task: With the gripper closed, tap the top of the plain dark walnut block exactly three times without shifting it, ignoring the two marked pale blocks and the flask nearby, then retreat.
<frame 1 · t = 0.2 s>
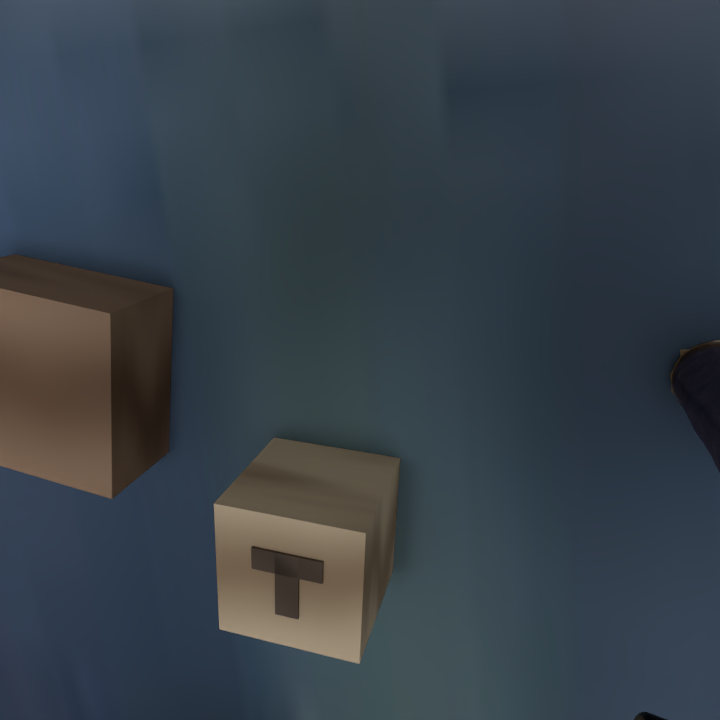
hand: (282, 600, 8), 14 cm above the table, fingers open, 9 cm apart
walnut block: (97, 353, 26), on the table
beech block marked: (334, 503, 25), on the table
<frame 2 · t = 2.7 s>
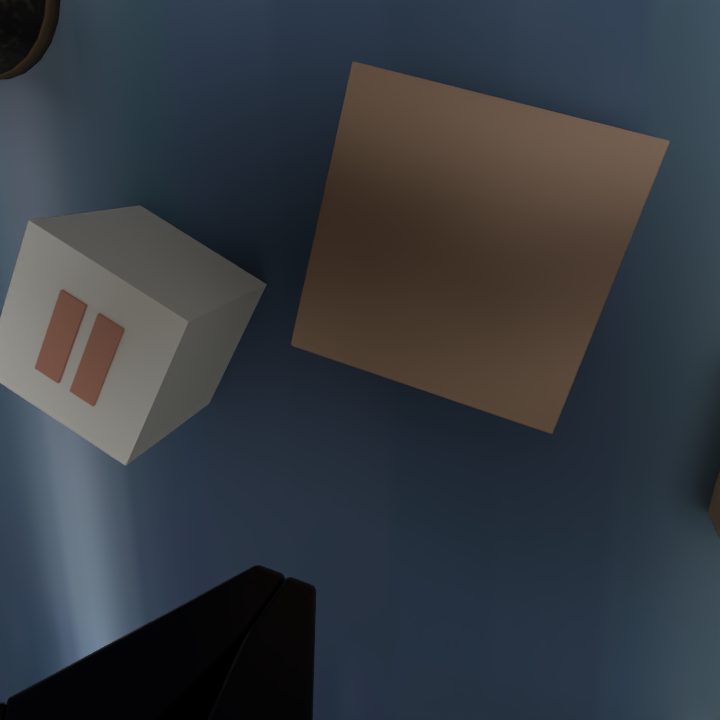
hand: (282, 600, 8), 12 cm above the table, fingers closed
walnut block: (474, 235, 19), on the table
grey block marked: (177, 307, 22), on the table
mug: (14, 7, 20), on the table
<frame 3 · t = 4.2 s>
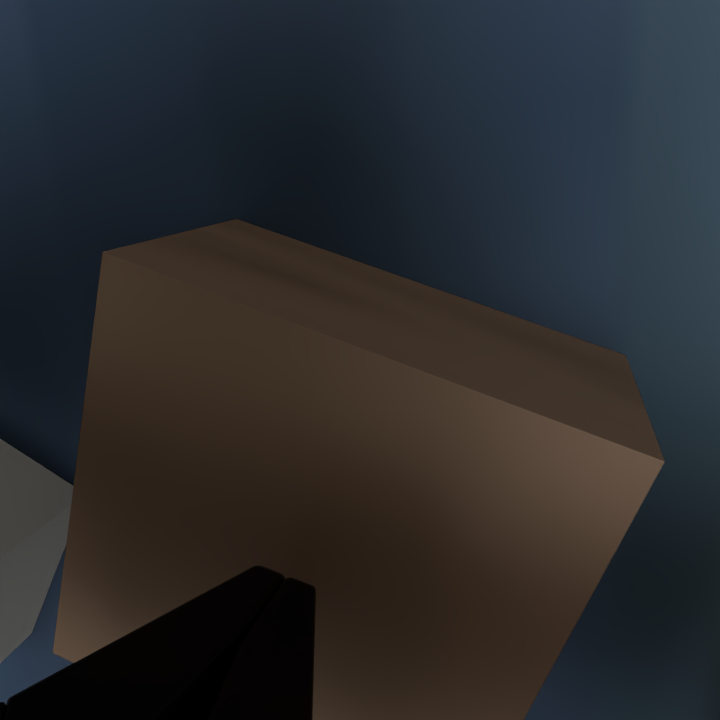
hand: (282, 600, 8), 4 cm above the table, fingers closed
walnut block: (368, 449, 12), on the table
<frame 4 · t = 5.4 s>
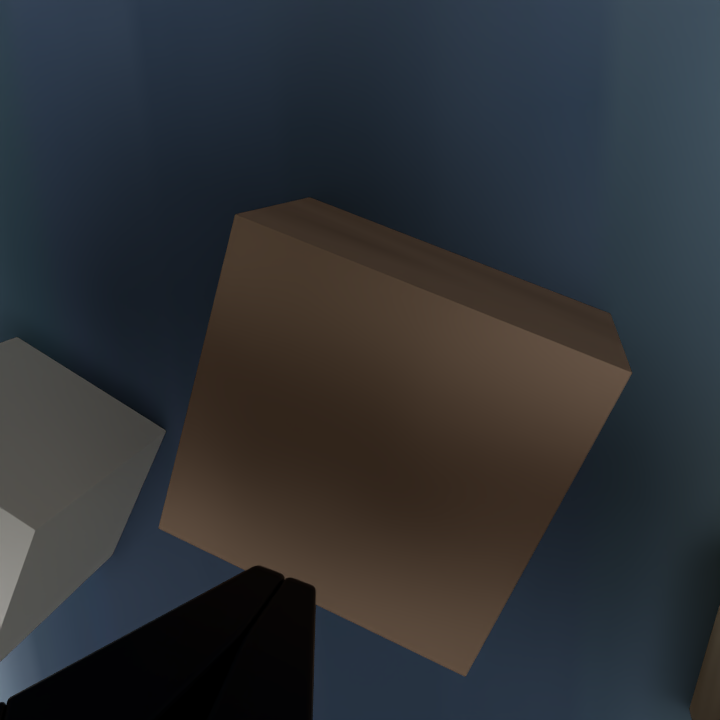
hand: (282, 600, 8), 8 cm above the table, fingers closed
walnut block: (403, 387, 15), on the table
grey block marked: (68, 449, 19), on the table
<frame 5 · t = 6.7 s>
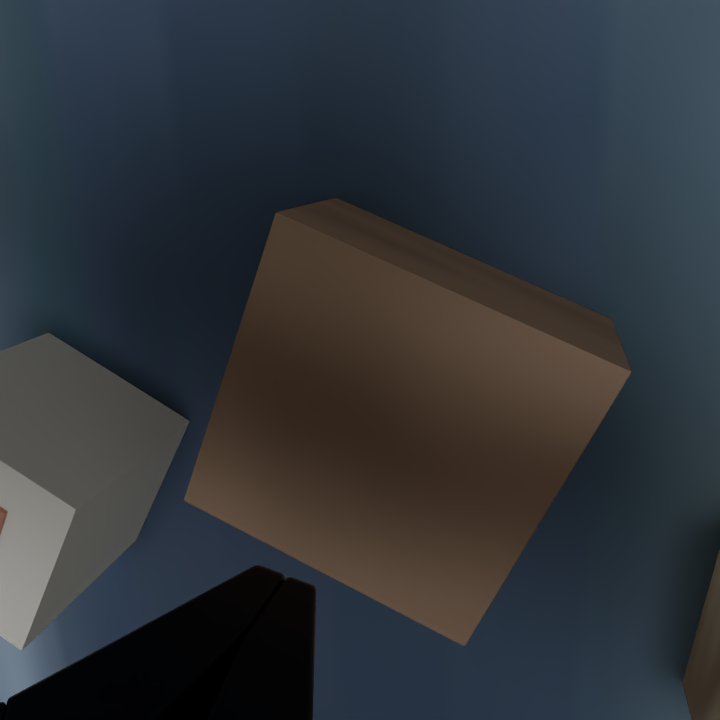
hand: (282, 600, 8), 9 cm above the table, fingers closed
walnut block: (414, 379, 17), on the table
grey block marked: (96, 439, 20), on the table
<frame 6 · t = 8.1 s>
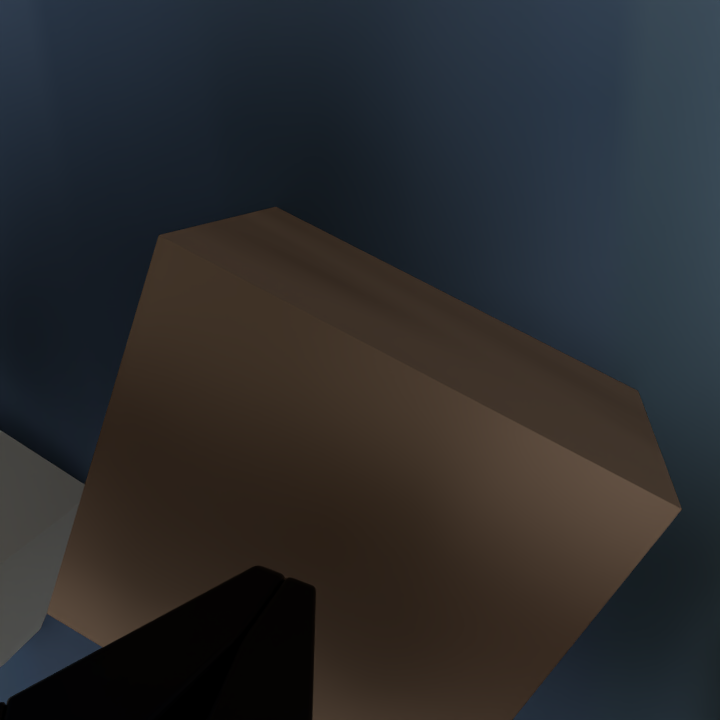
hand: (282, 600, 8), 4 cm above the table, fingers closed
walnut block: (373, 447, 13), on the table
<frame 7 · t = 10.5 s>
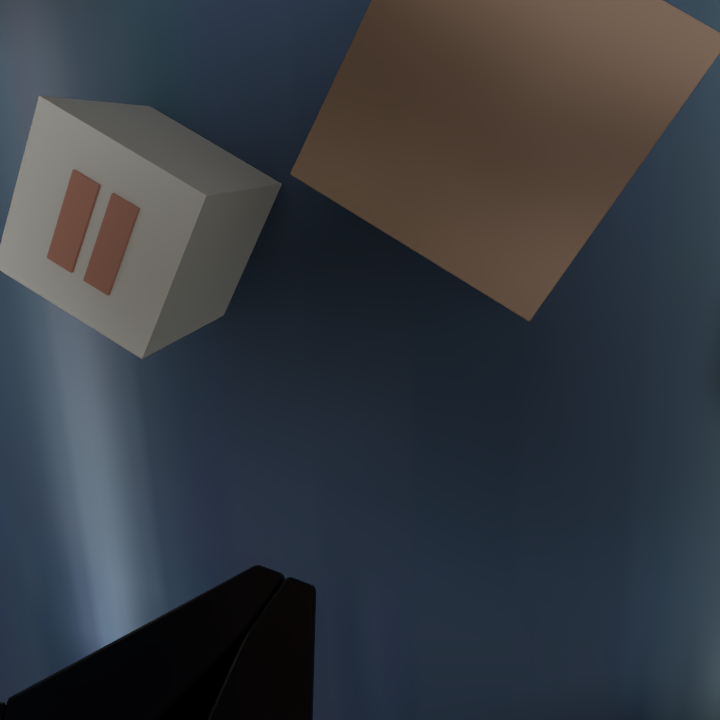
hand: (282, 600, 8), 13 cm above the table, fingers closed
walnut block: (497, 119, 18), on the table
grey block marked: (189, 214, 21), on the table
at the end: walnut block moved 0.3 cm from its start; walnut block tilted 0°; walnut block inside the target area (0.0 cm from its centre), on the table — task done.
